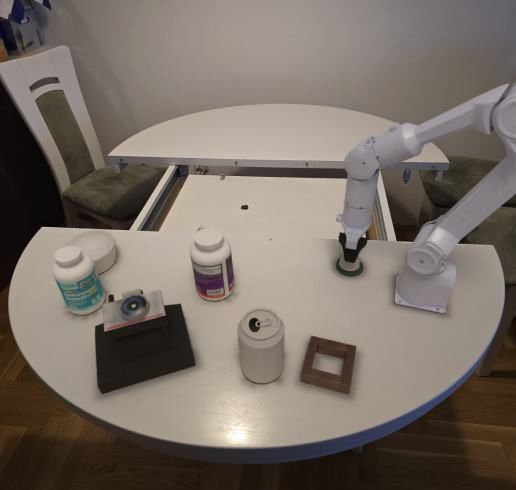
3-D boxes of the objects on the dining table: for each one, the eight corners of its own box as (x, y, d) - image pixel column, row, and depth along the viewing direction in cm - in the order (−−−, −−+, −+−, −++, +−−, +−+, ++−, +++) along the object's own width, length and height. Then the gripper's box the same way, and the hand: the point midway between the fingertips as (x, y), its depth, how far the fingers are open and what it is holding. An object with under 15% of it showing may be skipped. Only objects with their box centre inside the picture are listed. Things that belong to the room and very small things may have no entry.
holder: (354, 354, 72) (356, 345, 70) (348, 394, 66) (350, 386, 64) (310, 343, 74) (311, 335, 72) (300, 382, 68) (301, 373, 66)
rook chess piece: (359, 273, 87) (364, 245, 82) (338, 271, 88) (342, 243, 83) (359, 260, 90) (364, 231, 85) (339, 257, 91) (342, 229, 86)
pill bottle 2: (218, 270, 90) (211, 217, 81) (242, 288, 85) (238, 235, 76) (189, 289, 85) (178, 236, 76) (213, 309, 81) (205, 255, 72)
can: (240, 350, 73) (235, 305, 66) (281, 346, 73) (281, 301, 66) (242, 388, 67) (237, 343, 60) (286, 383, 67) (287, 339, 60)
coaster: (364, 260, 91) (364, 259, 90) (361, 278, 86) (361, 277, 86) (337, 255, 92) (338, 254, 92) (333, 273, 88) (333, 272, 88)
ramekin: (92, 286, 87) (85, 268, 84) (59, 268, 92) (51, 251, 88) (130, 256, 94) (125, 239, 91) (98, 241, 99) (92, 224, 96)
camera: (77, 351, 58) (76, 276, 68) (103, 396, 68) (99, 324, 78) (186, 321, 61) (169, 254, 72) (196, 368, 71) (180, 303, 82)
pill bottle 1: (71, 322, 79) (47, 272, 71) (66, 297, 84) (43, 248, 76) (109, 308, 82) (91, 258, 73) (103, 285, 87) (84, 236, 79)
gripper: (344, 179, 85) (338, 230, 93) (332, 218, 74) (326, 272, 82) (378, 184, 83) (369, 235, 91) (371, 225, 72) (362, 279, 81)
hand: (351, 253), depth 87 cm, fingers open, 4 cm apart
